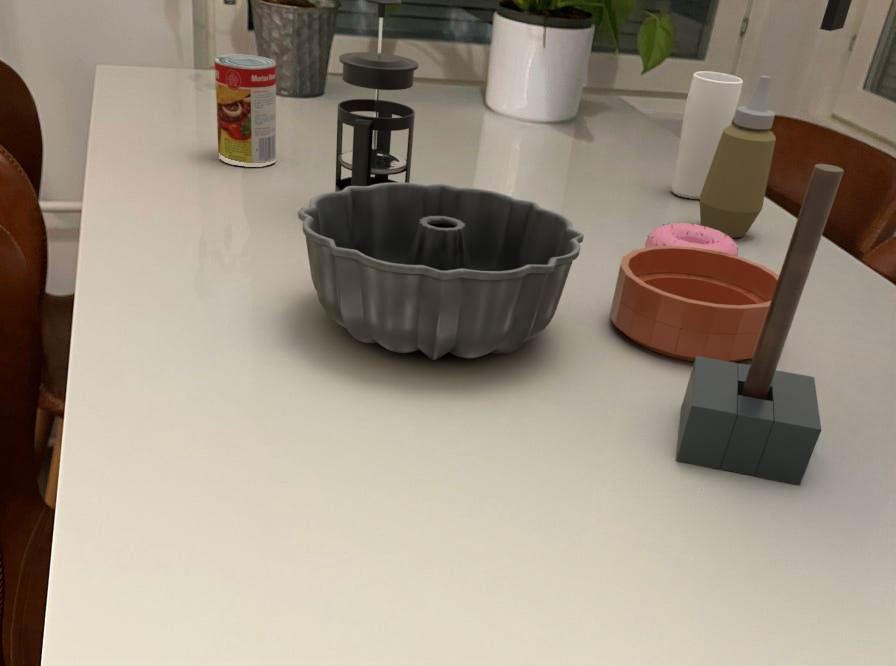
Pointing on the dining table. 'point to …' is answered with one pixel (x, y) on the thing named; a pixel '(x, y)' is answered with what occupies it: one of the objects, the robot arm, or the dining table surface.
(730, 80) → the drinking glass
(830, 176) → the stick
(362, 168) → the french press
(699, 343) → the bowl
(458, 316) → the bundt pan
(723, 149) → the squeeze bottle
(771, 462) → the holder
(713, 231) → the doughnut
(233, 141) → the canned food
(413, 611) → the dining table surface
